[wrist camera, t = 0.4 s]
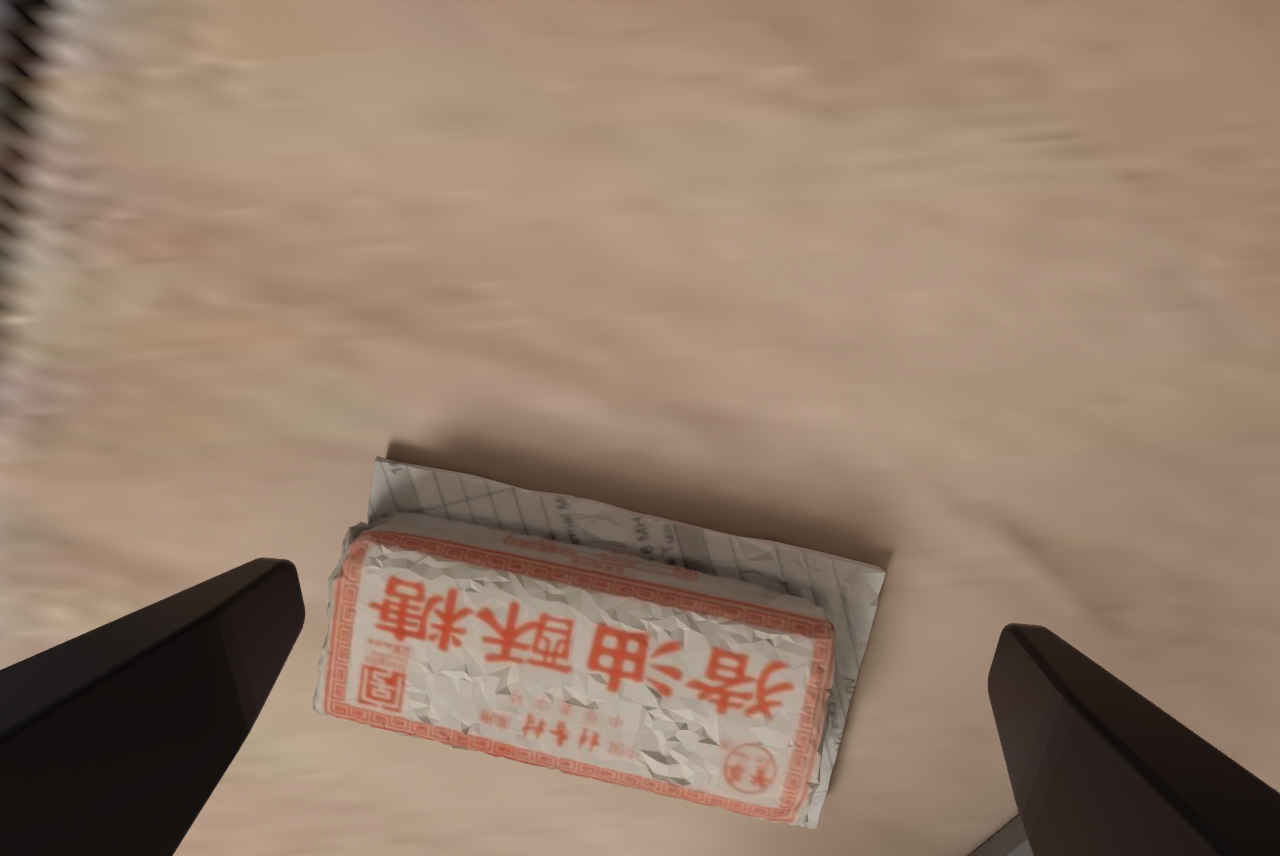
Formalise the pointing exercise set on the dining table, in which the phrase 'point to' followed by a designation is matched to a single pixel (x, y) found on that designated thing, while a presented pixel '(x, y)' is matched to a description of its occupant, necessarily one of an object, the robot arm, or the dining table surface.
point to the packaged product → (596, 641)
